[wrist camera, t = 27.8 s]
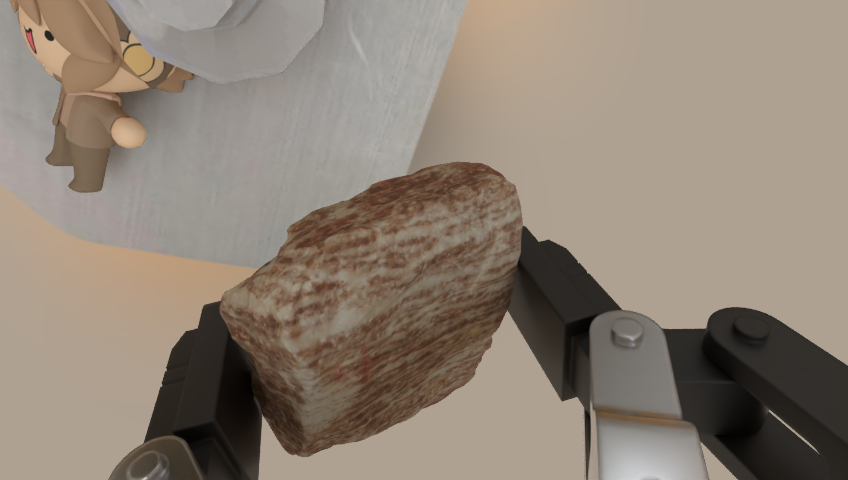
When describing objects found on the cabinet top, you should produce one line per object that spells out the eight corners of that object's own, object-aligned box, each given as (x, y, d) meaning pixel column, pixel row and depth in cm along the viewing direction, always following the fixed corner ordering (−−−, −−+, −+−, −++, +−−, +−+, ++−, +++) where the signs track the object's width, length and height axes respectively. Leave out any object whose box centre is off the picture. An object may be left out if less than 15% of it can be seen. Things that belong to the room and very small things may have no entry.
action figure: (-61, 130, 29) (-35, -136, 23) (123, 139, 39) (174, -49, 33) (15, 228, 26) (67, -52, 20) (195, 211, 36) (265, 18, 30)
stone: (357, 318, 16) (493, 390, 14) (211, 452, 12) (378, 582, 10) (365, 110, 12) (556, 170, 10) (145, 195, 8) (408, 330, 6)
